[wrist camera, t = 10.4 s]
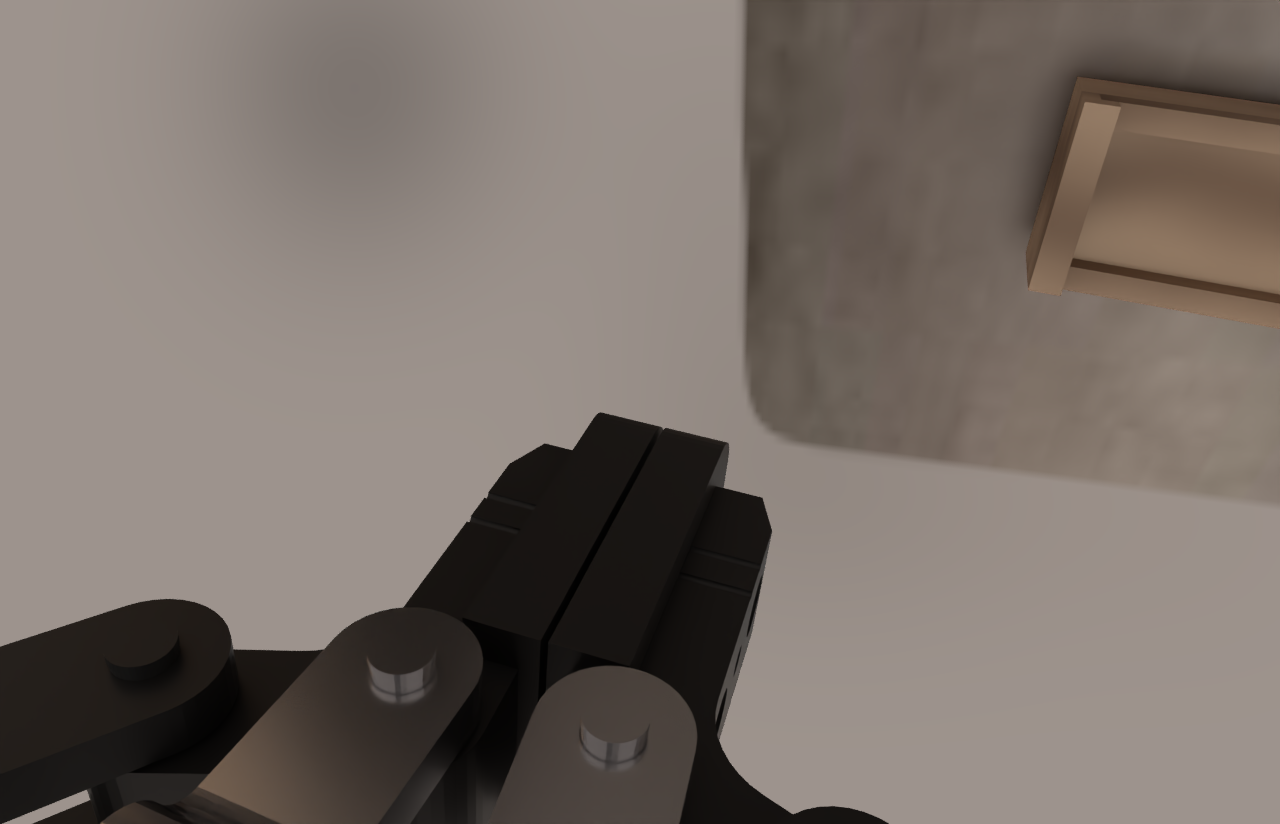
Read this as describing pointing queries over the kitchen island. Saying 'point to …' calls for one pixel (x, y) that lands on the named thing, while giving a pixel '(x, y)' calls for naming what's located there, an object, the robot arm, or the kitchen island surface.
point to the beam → (1163, 202)
